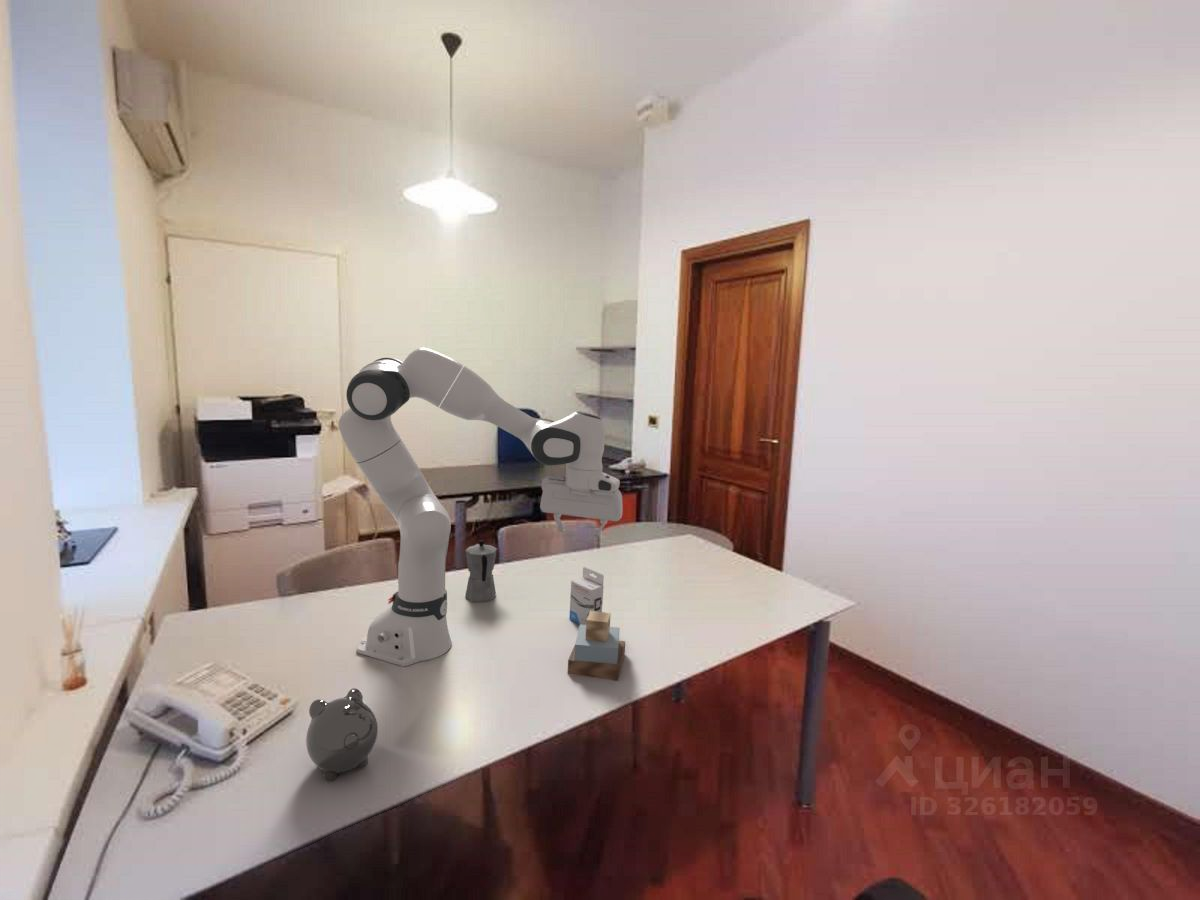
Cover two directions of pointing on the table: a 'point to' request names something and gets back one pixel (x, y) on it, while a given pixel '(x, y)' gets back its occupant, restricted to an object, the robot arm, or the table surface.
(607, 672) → the tower base
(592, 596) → the ink box
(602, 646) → the tower top
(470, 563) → the coffeepot
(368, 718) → the piggy bank
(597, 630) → the oak block
